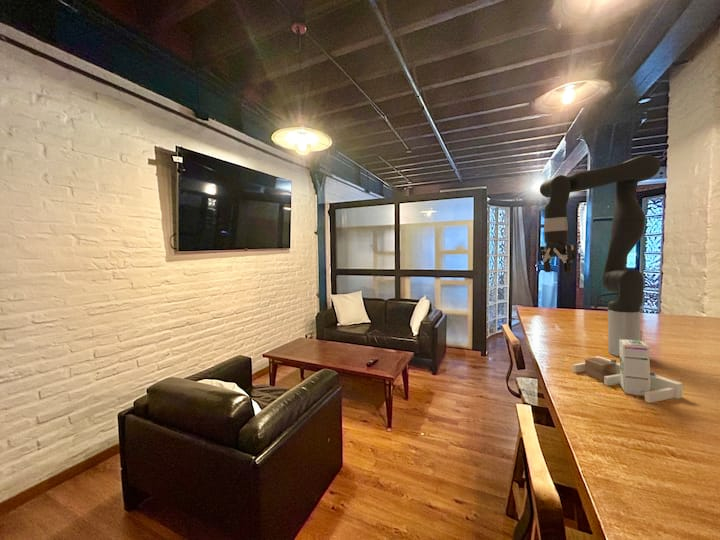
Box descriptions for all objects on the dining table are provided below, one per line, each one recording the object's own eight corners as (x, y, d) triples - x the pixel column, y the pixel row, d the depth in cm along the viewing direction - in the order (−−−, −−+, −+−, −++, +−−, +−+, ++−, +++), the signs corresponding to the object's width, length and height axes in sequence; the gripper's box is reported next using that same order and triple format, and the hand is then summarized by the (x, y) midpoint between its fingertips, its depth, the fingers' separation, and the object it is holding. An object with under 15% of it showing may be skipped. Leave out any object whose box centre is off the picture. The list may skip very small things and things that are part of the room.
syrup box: (651, 397, 82) (651, 346, 81) (623, 393, 85) (622, 343, 84) (645, 389, 87) (645, 340, 86) (619, 385, 90) (618, 338, 89)
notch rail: (598, 367, 103) (598, 353, 103) (682, 397, 81) (682, 380, 81) (572, 371, 101) (572, 357, 101) (651, 403, 79) (651, 386, 79)
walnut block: (598, 371, 100) (598, 357, 100) (615, 378, 94) (615, 363, 94) (585, 374, 99) (585, 359, 98) (601, 380, 93) (601, 365, 93)
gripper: (581, 228, 106) (582, 272, 107) (548, 231, 120) (549, 271, 121) (563, 228, 105) (564, 274, 105) (532, 232, 119) (533, 272, 119)
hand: (556, 272), depth 113 cm, fingers open, 8 cm apart
